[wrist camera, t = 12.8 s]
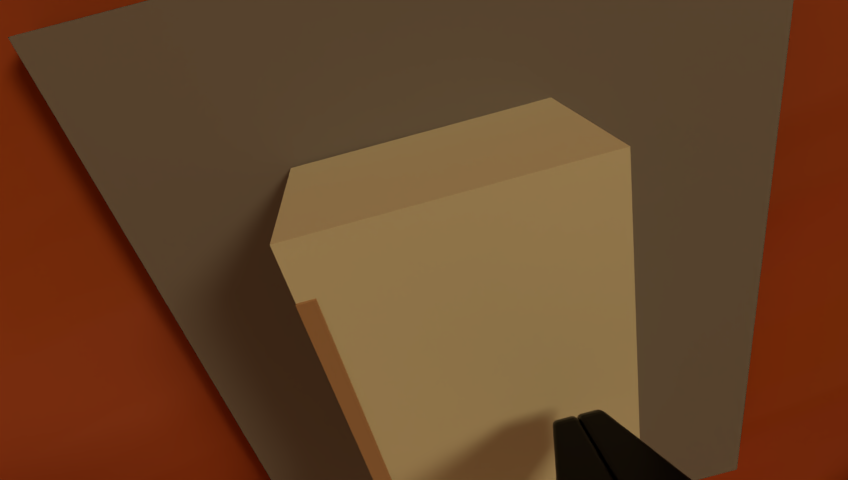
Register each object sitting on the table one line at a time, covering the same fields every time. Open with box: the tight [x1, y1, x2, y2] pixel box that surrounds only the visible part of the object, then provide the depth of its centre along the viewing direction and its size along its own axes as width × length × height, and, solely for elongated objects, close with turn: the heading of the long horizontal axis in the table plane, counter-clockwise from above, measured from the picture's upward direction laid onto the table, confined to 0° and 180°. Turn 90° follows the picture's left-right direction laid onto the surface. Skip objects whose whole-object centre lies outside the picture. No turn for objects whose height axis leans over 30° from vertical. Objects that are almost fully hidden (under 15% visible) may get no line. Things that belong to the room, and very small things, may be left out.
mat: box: [8, 0, 793, 480], centre depth 12 cm, size 13×16×1 cm
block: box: [270, 98, 640, 480], centre depth 11 cm, size 3×10×5 cm
